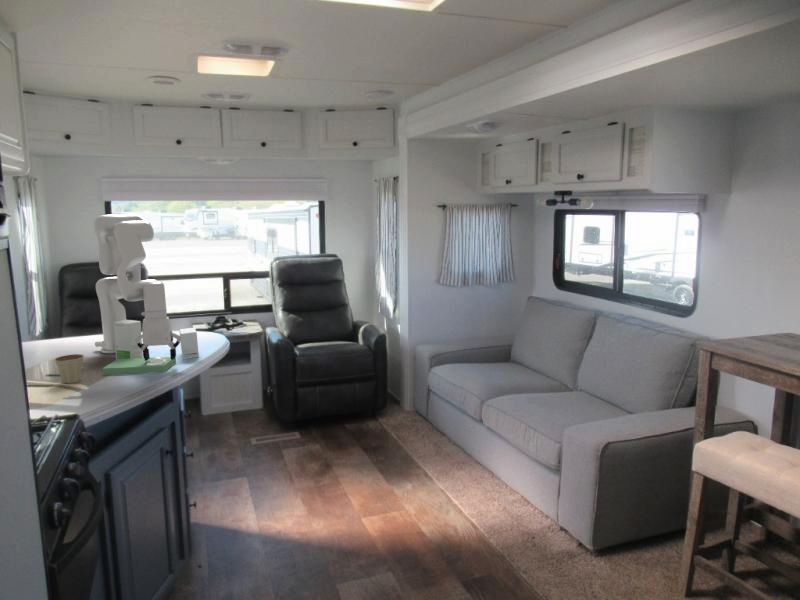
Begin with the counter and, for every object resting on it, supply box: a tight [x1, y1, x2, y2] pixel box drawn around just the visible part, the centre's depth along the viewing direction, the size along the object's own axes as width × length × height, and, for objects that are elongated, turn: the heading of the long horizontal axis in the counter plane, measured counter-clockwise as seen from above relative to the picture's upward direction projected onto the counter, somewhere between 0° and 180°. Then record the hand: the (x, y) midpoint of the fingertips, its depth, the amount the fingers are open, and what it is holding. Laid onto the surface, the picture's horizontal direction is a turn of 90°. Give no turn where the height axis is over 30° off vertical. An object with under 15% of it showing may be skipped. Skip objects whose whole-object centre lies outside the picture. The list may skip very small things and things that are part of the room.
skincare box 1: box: [114, 319, 143, 361], centre depth 247 cm, size 8×7×16 cm
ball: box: [153, 356, 164, 364], centre depth 233 cm, size 4×4×4 cm
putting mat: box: [102, 356, 177, 376], centre depth 232 cm, size 22×14×2 cm, turn 93°
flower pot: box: [53, 353, 85, 384], centre depth 217 cm, size 9×9×9 cm
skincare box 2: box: [179, 327, 200, 359], centre depth 251 cm, size 10×6×10 cm, turn 22°
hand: (160, 359), depth 232 cm, fingers open, 9 cm apart
